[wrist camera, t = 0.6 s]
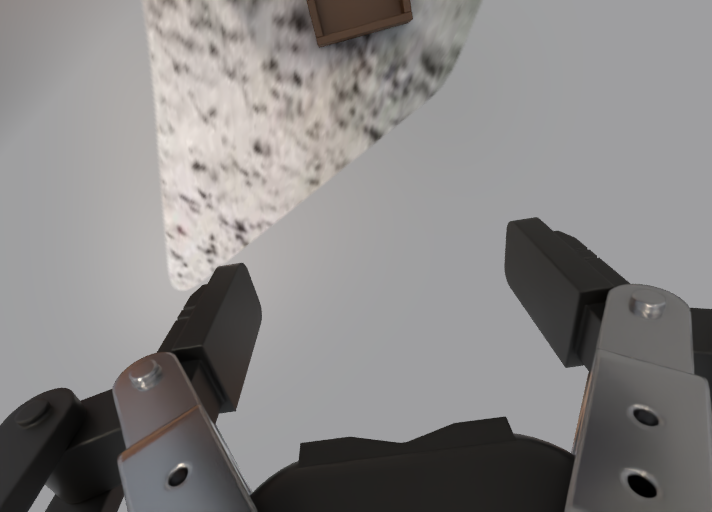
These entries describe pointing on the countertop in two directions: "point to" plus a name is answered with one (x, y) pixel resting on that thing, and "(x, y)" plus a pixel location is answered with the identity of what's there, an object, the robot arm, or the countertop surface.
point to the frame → (355, 18)
